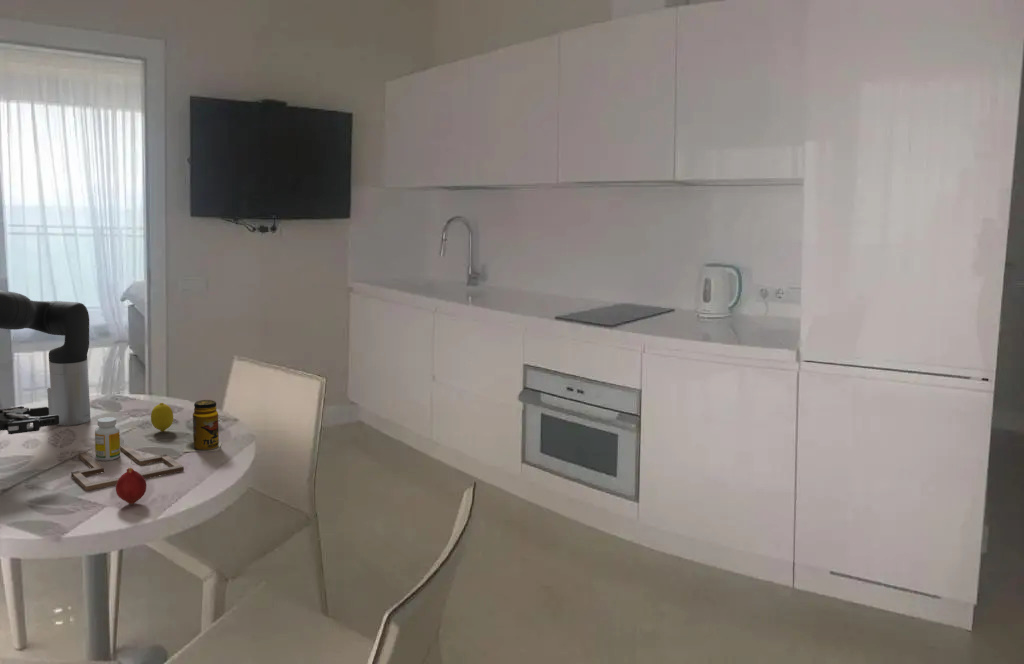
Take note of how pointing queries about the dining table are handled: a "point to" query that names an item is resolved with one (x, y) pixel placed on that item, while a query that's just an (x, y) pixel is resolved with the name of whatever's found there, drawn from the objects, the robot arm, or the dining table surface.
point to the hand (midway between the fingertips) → (53, 415)
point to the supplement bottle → (107, 439)
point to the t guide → (97, 468)
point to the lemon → (162, 417)
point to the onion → (131, 486)
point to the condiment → (204, 427)
